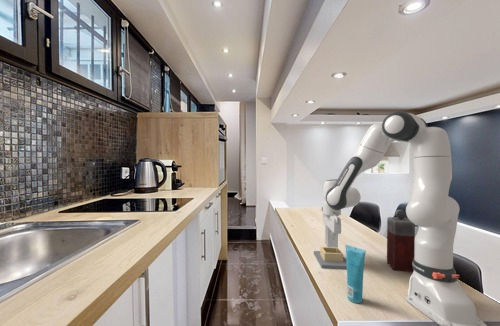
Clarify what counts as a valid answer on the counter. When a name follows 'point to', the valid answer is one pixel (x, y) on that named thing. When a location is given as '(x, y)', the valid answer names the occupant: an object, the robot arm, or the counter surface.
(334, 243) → the block
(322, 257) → the collar stand
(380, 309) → the counter surface
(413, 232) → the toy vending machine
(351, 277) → the tube
